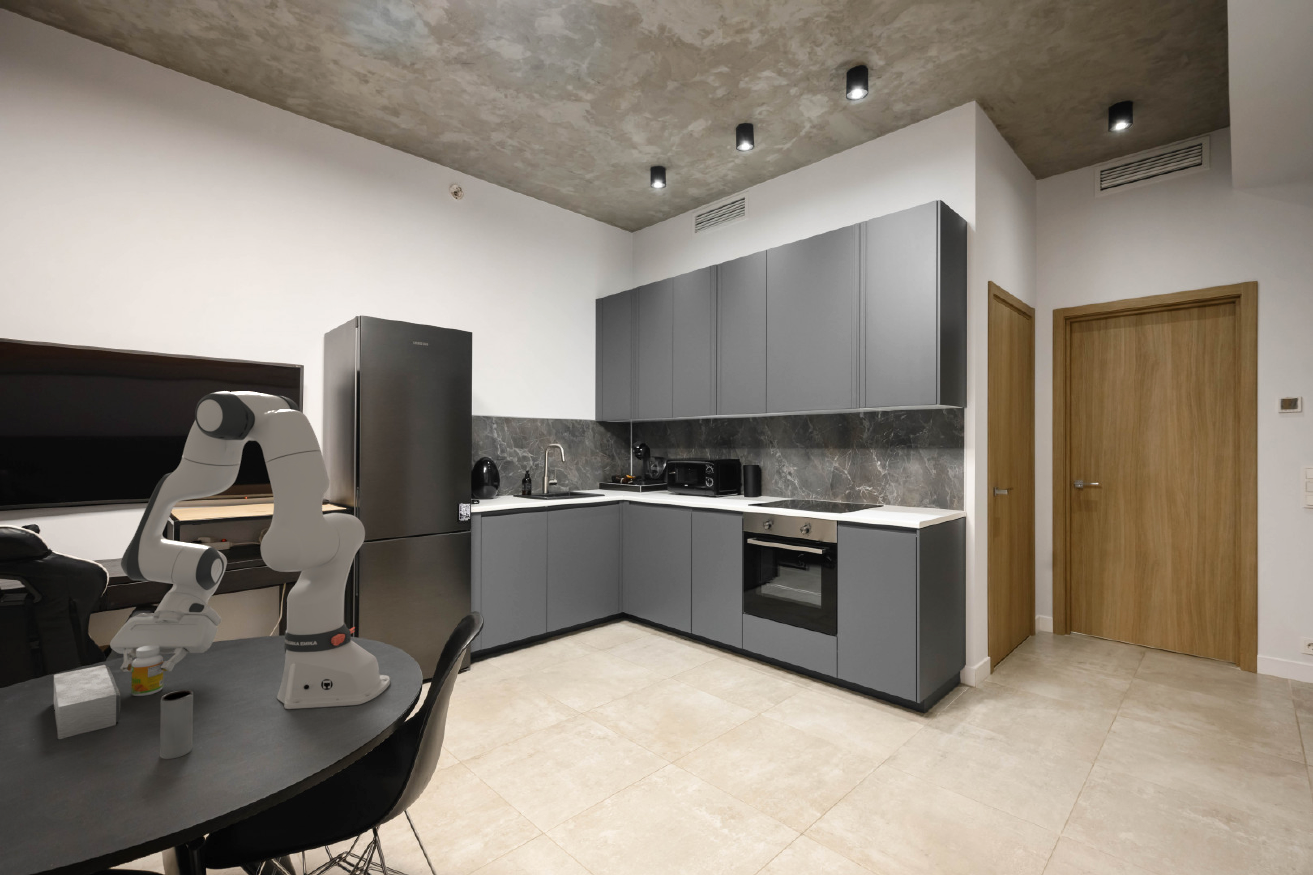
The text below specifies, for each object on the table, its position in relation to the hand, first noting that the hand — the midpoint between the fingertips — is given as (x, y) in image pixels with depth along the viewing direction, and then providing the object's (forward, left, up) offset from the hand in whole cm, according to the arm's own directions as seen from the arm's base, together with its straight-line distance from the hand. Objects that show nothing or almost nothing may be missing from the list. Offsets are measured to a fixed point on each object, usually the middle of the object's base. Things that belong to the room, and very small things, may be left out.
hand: (145, 670), depth 133 cm
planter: (-27, +24, -5) cm, 37 cm away
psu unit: (+4, +10, -5) cm, 12 cm away
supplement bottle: (0, -1, -5) cm, 5 cm away
